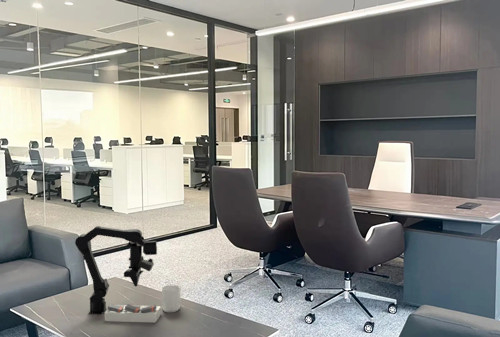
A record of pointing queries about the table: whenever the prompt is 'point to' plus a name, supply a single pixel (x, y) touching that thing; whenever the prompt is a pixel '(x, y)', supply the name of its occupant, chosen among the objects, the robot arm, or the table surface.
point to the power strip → (133, 315)
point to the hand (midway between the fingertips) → (135, 286)
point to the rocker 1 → (115, 308)
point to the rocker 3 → (148, 309)
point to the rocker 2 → (132, 308)
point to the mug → (171, 298)
